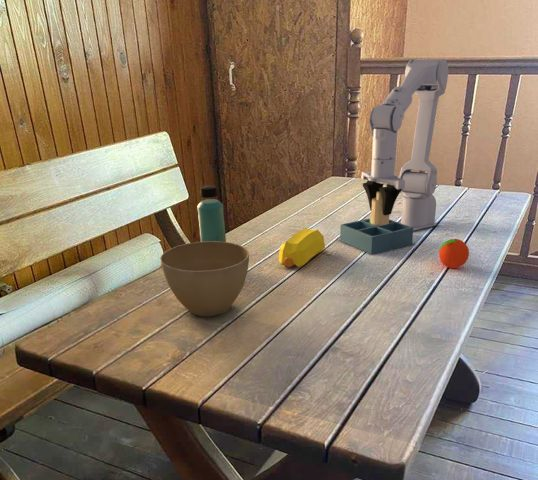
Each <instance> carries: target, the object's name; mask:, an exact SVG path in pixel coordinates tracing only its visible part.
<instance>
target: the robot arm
mask: <svg viewBox="0 0 538 480" xmlns="http://www.w3.org/2000/svg"><path fill="white" fill-rule="evenodd" d="M449 73H450V72H449V64H448V62H447V59H445V58H440V59H415V58H411V59H410V60H409V61H408V63H407V64H406V65H405V71H404V79H403V80H402V82H401V84H400V85H399V86H394V88H393V89H392V90H390V92H389V94H388V95H387V96H386V98H385V99H383V101H382V103H381V104H377V105H375V106H374V107H373V108H372V109H371V111H370V114H369V119H368V125H369V128H370V138H371V139H372V147H371V148H372V149H371V169H370V170H364V171H361V178H360V179H361V180H363V181H366V182H362V187H363V189H364V192H365V194H366V196H367V201H368V204H369V210H370V212H372V199H373V198H375V197H376V195H377V191H380V192H381V195H382V202H383V215H389V214H390V215H392V212H393V210H394V206H395V203H396V201H397V198H398V197H399V195H400V196H401V197H402V204H401V205H402V207H401V218H400V219H401V220H400V221H397V222H398V223H401V224H404V225H407V226H410V227H413V232H415V231H418V230H423V229H428V228H431V227H436V226H437V223H436V212H437V200H436V197H435V195H433V194H434V193H435V191H436V188H437V185H438V177H437V175H438V168H437V167H436V166H435V165H434V164H433V162H431V161H430V155H431V149H432V148H431V147H432V141H433V135H434V128H435V122H436V117H437V116H436V115H437V109H438V104H439V98H440V97H441V96H442V95H443V96H444V94H445V93H446V89H447V84H448V79H449ZM413 95H416V96H417V97H418V99H419V101H418V108H417V115H416V123H415V129H414V135H413V142H412V149H411V157H410V159H409V160H408V161H406V163H404V164H402V166H401V168H400V172H399V175H398V176H396V175H395V170H396V169H395V168H396V154H397V139H398V131H399V130H400V129H401V127H402V125H403V120H404V117H405V113H406V111H407V110H408V109H409V108H410V107H411V105H412V102H413ZM421 171H422V172H421ZM384 185H385V186H384ZM390 215H389V216H390Z"/></svg>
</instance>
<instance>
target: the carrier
mask: <svg viewBox="0 0 538 480" xmlns="http://www.w3.org/2000/svg"><path fill="white" fill-rule="evenodd" d="M398 222H399V221H395V220H392V219H390V218H389V224H387V225H378V226H376V225H373V224H371V223H370V217H369V218H364V219H359V220H356V221H355V220H354V221H351V222H346V223H341V224H340V227H339V228H340V229H339V232H340V233H339V236H340V237H339V241H340V242H342V243H345V244H347V245H349V246H352V247H353V248H356V249H358V250H361V251H363V252H365V253H367V254H370V255H374V254H379V253H383V252H386V251H391V250H394V249H399V248H403V247H407V246H411V245H413V238H414V231H413V227H410V226H407V225H404V224H401V223H398Z"/></svg>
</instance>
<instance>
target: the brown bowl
mask: <svg viewBox="0 0 538 480" xmlns="http://www.w3.org/2000/svg"><path fill="white" fill-rule="evenodd" d="M249 264H250V253H249V250H248V249H247V248H246V247H244V246H243V245H240V244H237V243H234V242H228V241H226V242H220V241H204V242H201V241H194V242H188V243H183V244H179V245H176V246H174V247H171V248H170V249H166V250H165V251H164V252H163V253H162V254H161V256H160V265H161V269H162V273H163V276H164V278H165V281H166V283H167V285H168V287H169V289H170V290H171V292H172V294H173V295H174V296H175V298H176V299H177V300H178V301H179V303H180V304H181V305H182V306H183V307H184V308H185V309H186V310H187V311H188V312H190V313H191V314H192V315H194V316H197V317H215V316H219V315H221V314H224V313H226V312H227V311H228V310H229V309H230V308H231V307H232V305H233V304H234V303H235V302H236V300H237V299H238V298H239V295H240V294H241V291H242V289H243V287H244V285H245V282H246V279H247V274H248V272H249V271H248V270H249Z"/></svg>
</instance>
